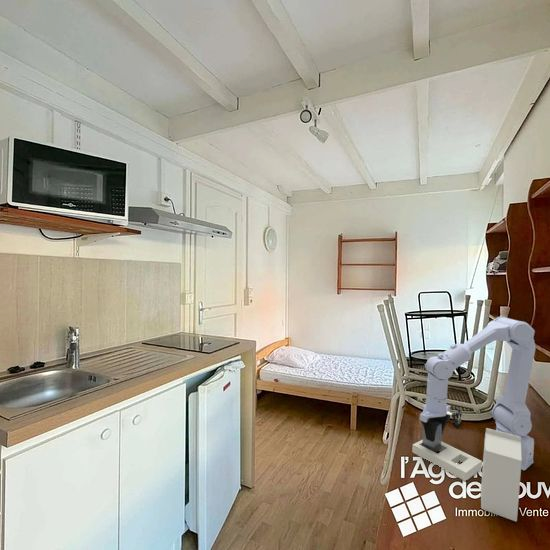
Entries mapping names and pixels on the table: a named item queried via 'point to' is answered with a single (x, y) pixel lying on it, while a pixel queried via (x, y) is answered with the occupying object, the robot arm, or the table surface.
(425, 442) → the peg
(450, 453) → the socket plate
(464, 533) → the table surface
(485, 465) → the milk carton
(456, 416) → the valve
